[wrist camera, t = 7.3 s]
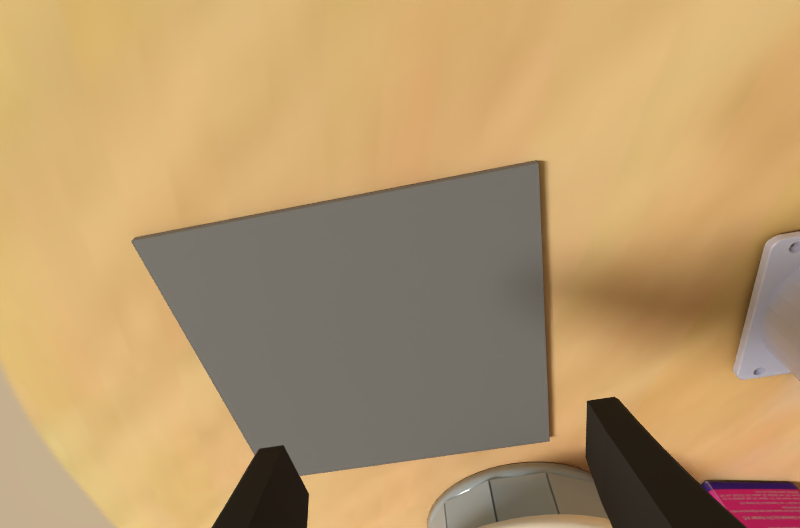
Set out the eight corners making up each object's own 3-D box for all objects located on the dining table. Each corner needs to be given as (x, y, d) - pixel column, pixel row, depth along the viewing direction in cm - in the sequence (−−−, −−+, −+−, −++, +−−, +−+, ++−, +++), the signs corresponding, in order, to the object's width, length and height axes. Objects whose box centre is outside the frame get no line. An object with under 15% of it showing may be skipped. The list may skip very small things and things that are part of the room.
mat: (536, 160, 17) (538, 163, 17) (548, 436, 25) (549, 441, 25) (134, 237, 18) (131, 241, 18) (270, 475, 27) (269, 480, 26)
